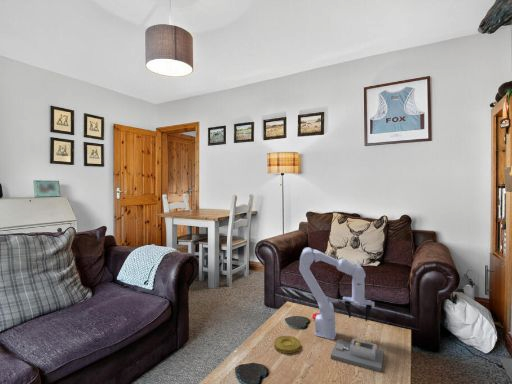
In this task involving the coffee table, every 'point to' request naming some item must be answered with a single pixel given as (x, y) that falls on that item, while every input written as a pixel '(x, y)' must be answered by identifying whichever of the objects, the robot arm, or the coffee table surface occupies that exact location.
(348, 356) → the board
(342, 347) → the chain anchor
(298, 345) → the olive flat disc
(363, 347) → the steel link
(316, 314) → the tow hook
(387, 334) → the coffee table surface
